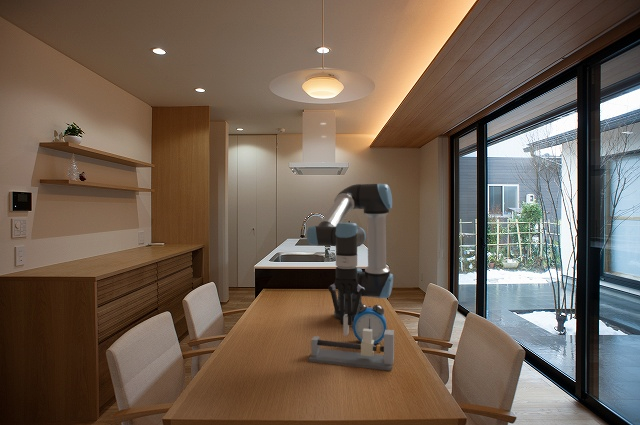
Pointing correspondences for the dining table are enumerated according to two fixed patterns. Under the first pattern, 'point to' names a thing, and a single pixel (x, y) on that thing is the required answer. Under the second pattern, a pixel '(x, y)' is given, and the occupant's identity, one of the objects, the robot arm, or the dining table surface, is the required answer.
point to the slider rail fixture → (354, 353)
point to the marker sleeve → (367, 343)
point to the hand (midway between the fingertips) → (346, 333)
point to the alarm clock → (370, 322)
